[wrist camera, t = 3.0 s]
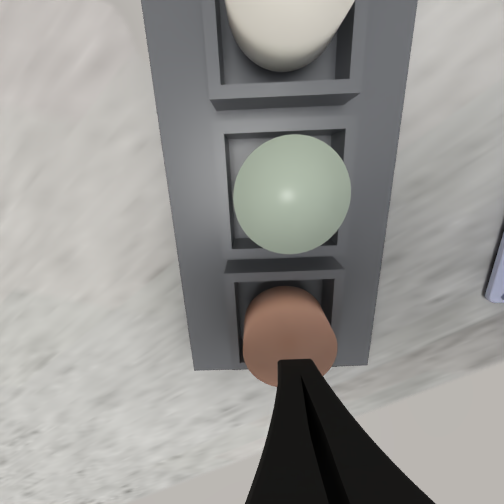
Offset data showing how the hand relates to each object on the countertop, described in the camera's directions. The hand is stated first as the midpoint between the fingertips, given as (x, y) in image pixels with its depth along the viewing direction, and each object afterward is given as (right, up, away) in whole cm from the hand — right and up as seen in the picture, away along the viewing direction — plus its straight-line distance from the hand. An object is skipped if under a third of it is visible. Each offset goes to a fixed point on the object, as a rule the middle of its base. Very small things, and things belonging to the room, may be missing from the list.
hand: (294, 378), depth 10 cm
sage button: (0, +8, +2) cm, 8 cm away
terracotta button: (0, +1, +4) cm, 4 cm away
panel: (0, +9, +5) cm, 10 cm away
